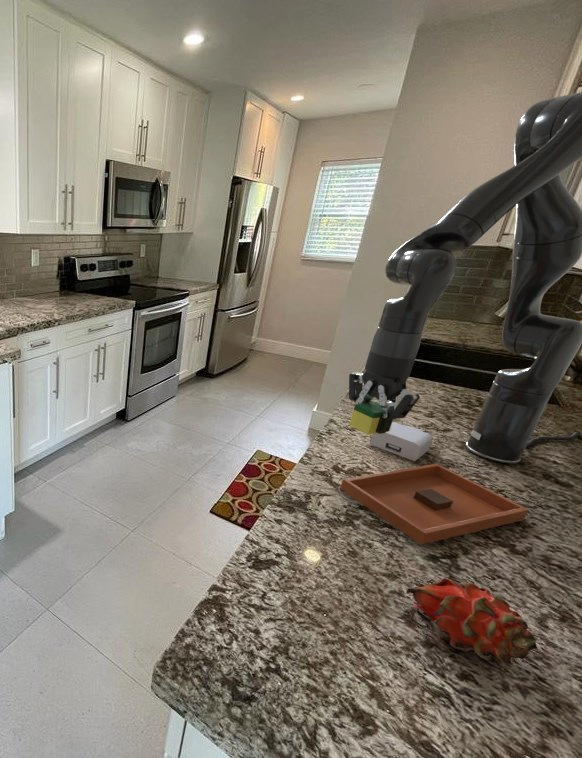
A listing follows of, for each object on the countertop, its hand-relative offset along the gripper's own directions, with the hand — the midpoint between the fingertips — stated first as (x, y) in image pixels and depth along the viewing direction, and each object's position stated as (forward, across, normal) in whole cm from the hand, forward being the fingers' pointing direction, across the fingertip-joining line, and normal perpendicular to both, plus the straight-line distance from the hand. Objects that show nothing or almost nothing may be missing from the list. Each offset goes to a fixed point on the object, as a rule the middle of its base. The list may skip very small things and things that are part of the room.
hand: (369, 426), depth 88 cm
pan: (+9, -15, 0) cm, 18 cm away
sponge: (0, 0, 0) cm, 0 cm away
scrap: (+9, -15, -1) cm, 17 cm away
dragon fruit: (+9, -36, +25) cm, 45 cm away
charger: (+10, +4, -19) cm, 21 cm away
